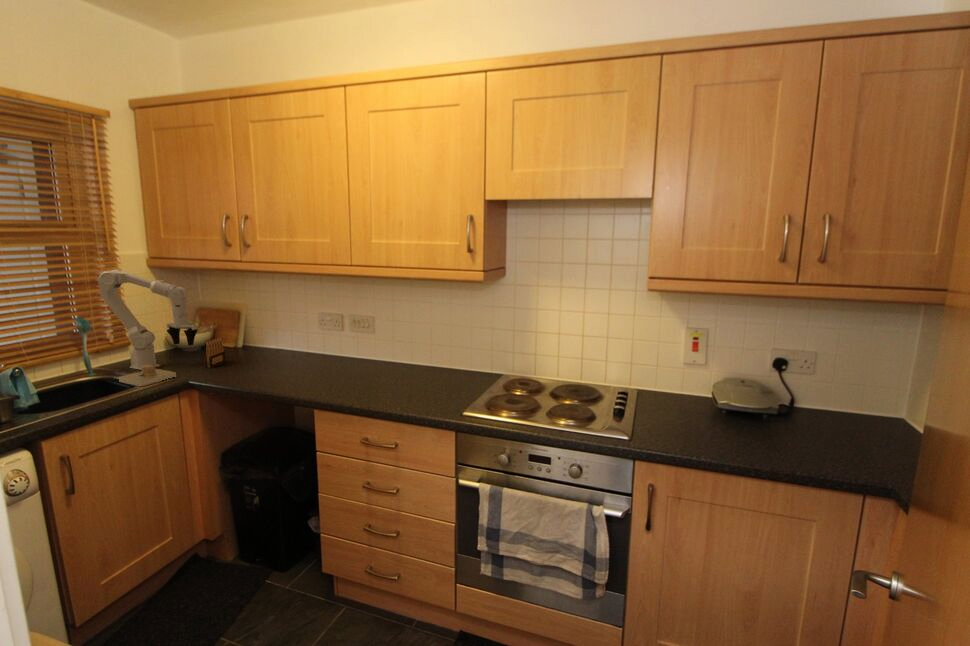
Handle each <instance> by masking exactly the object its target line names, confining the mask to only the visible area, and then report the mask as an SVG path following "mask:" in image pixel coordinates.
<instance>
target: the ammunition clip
mask: <svg viewBox="0 0 970 646" xmlns="http://www.w3.org/2000/svg"><path fill="white" fill-rule="evenodd" d="M205 348H206V351H205V353H206V356H205V363H206V369H213V368H215V367H217V366H219V365H220V366H221V365H222V364H225V363H226V362H227V360H226V351H225V350H224V344H223V338H222V337H221V336H220V337H217V338H214V339H212V340H209V341H208V340H207V341H206V346H205Z"/></svg>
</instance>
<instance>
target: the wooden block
mask: <svg viewBox="0 0 970 646" xmlns="http://www.w3.org/2000/svg"><path fill="white" fill-rule="evenodd" d="M141 368H142V370H141V371H142V376H143V377H147V376H151V375H155V369H156V367H154V366H153V365H146V366H142V367H141Z"/></svg>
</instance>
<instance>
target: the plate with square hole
mask: <svg viewBox="0 0 970 646" xmlns="http://www.w3.org/2000/svg"><path fill="white" fill-rule="evenodd" d="M172 377H175V378H177V372H175V371H170V370H165V369H160V368H155V375H151V376H147V377H143V376H142V370H141V371H138V372H134V373H129V374H125V375H122V376H121V375H120V376H118V380H119V381H118V382H119V383H123V384H128V385H132V386H136V387H141V386H142V387H145V386H148V385H152V384H156V383H159V382H163V381H162V380H164V381H166V380H165V379H167V380H169V379H168V378H171V379H173V378H172Z"/></svg>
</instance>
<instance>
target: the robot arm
mask: <svg viewBox="0 0 970 646" xmlns="http://www.w3.org/2000/svg"><path fill="white" fill-rule="evenodd" d="M97 283H98V286H99V293H100V297H101V298H102V299H103V301H104V302H105V304H106V305H107V306H108V307H109V308H110V309H111V311H112V312H113V314H114V315H115V316H116V317H117V318H118V320H119V321H120V322H121V324H122V325H123V326H124V328H125V329H126V330H127V337H128V338H129V339H130V340H129V341H130V344H131V346H132V347H133V348H132V349H131V350H130V353H129V355H130V363H131V365H130V366H129V368H130V369H133V370H134V369H135V370H141V371H142V368H141V367H142V366H146V365H153V366H154V367H155V368H158V367H161V366H162V365H161V364H157V362H156V360H157V359H156V353H155V345H154V344H153V343H154V341H155V340H156V336H155V334H154V333H153V332H152V331H150V330H148V328H147V327H146V326H144V325H142V324H141V323H140V322H139V321H138V319H137V318H136V316H135V315H134V314H133V313H132V311H131V310H130V308H129V307H128V306H127V305H126V303H125V302H124V301H123V299H122V298H121V296H119V294H118V293H119V289H120V287H121V286H122V285H123V284H128V283H129V284H133V285H136V286H140V287H143V288H147V289H150V291H151V293H153V294H156V295H159V296H163V297H165V298H168V299H170V300H171V307H172V317H173V322H172V323H171V322H169V323H166V328H167V329H166V332H167V333H168V334H169V336H170V338H171V340H172V342H173V344H174V345H179V344H180V341H181V340H180V332H181V329H182V330H183V332H184V334H185V336H186V341H187V345H188V346H193V345H194V344H195V343H194V342H195V338H196V334H197V333H198V332H199V331H198V325H197V324H193V323H190V319H189V311H188V303H187V297H188V290H187V289H186V288H185V287H183V286H179V285H178V286H177V285H176V284H171V283H167V282H165V280H163V279H160V280H158V279H157V280H154V281H152V280H149V279H148V278H144V277H142V276H138V275H137V274H133V273H131V272H129V271H125V270H120V269H115V268H114V269H113V270H105V271H102V272H101V273H100V274H99V276H98V279H97Z"/></svg>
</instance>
